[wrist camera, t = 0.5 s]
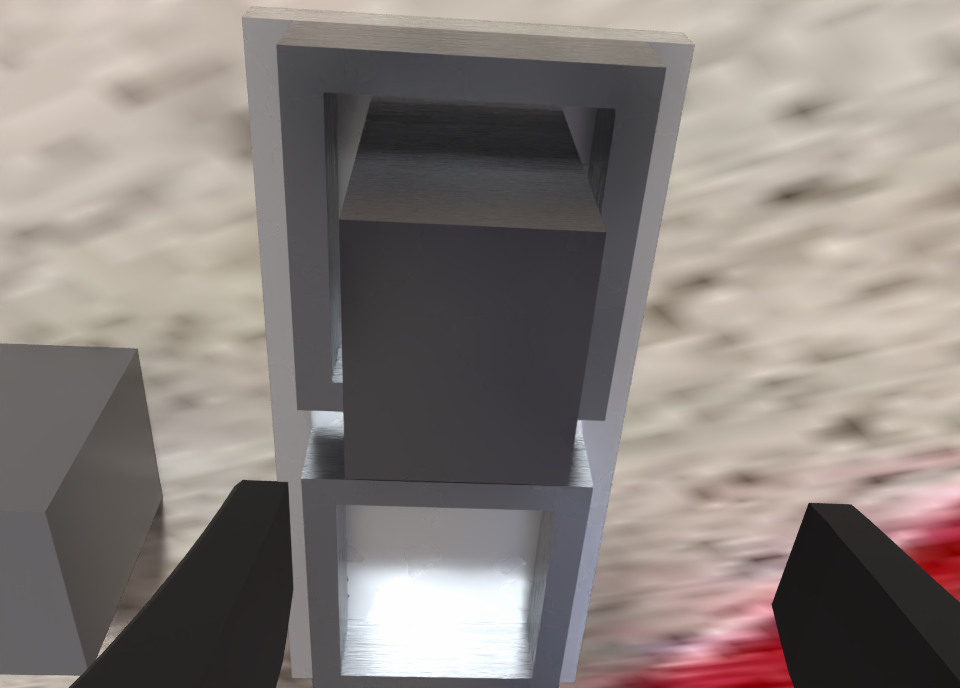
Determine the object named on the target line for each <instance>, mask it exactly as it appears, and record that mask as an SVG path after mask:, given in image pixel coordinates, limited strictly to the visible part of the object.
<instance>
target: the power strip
mask: <svg viewBox="0 0 960 688" xmlns="http://www.w3.org/2000/svg"><path fill="white" fill-rule="evenodd" d="M242 25H243V38H244V51H245V64H246V77H247V91H248V104H249V117H250V130H251V143H252V156H253V170H254V183H255V196H256V209H257V222H258V235H259V248H260V262H261V275H262V288H263V301H264V314H265V327H266V340H267V354H268V367H269V380H270V393H271V406H272V419H273V432H274V446H275V459H276V472H277V481H278V482H288V486H289V506H290V526H291V546H292V566H293V587H294V590H293V597H292V604H291V611H290V617H289V624H288V630H289V643H290V656H291V669H292V678H312V679H313V688H558V687H559V683H574V682H575V676H576V671H577V666H578V660H579V655H580V650H581V644H582V639H583V634H584V629H585V623H586V618H587V613H588V607H589V602H590V597H591V591H592V586H593V581H594V576H595V570H596V565H597V560H598V554H599V549H600V544H601V538H602V533H603V528H604V523H605V517H606V512H607V507H608V501H609V496H610V491H611V486H612V480H613V475H614V470H615V464H616V459H617V454H618V448H619V443H620V438H621V433H622V427H623V422H624V417H625V411H626V406H627V401H628V395H629V390H630V385H631V380H632V374H633V369H634V364H635V358H636V353H637V348H638V342H639V337H640V332H641V327H642V321H643V316H644V311H645V305H646V300H647V295H648V290H649V284H650V279H651V274H652V268H653V263H654V258H655V252H656V247H657V242H658V237H659V231H660V226H661V221H662V215H663V210H664V205H665V199H666V194H667V189H668V184H669V178H670V173H671V168H672V162H673V157H674V152H675V147H676V141H677V136H678V131H679V125H680V120H681V115H682V109H683V104H684V99H685V94H686V88H687V83H688V78H689V72H690V67H691V62H692V56H693V51H694V46H695V44H694V43H693V42H692V41H691V40H690V39H689V38H688V37H687V36H686V35H685V34H684V33H671V32H655V31H638V30H622V29H606V28H590V27H573V26H557V25H541V24H524V23H508V22H492V21H475V20H459V19H443V18H426V17H410V16H394V15H378V14H361V13H345V12H329V11H312V10H296V9H280V8H263V7H251V8H250V9H249V10H248V11H247V12H246V13H245V14H244V15H243V16H242Z"/></svg>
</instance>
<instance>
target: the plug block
mask: <svg viewBox="0 0 960 688" xmlns="http://www.w3.org/2000/svg"><path fill="white" fill-rule="evenodd" d="M162 497H163V496H162V490H161V484H160V479H159V473H158V467H157V461H156V455H155V449H154V443H153V437H152V432H151V426H150V420H149V414H148V408H147V402H146V396H145V390H144V384H143V379H142V373H141V367H140V361H139V355H138V349H132V348H106V347H79V346H53V345H27V344H0V674H11V675H74V676H81V675H82V674H83V673H84V672H85V671H86V670H87V669H88V668H89V667H90V666H91V665H92V663H93V662H94V661H95V660H96V658H97V656H98V653H99V651H100V648H101V646H102V644H103V641H104V639H105V636H106V634H107V631H108V629H109V627H110V624H111V622H112V619H113V617H114V614H115V612H116V609H117V607H118V605H119V602H120V600H121V597H122V595H123V592H124V590H125V588H126V585H127V583H128V580H129V578H130V575H131V573H132V570H133V568H134V566H135V563H136V561H137V558H138V556H139V553H140V551H141V548H142V546H143V544H144V541H145V539H146V536H147V534H148V531H149V529H150V527H151V524H152V522H153V519H154V517H155V514H156V512H157V509H158V507H159V505H160V502H161V500H162Z"/></svg>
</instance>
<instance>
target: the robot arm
mask: <svg viewBox="0 0 960 688" xmlns="http://www.w3.org/2000/svg"><path fill="white" fill-rule="evenodd" d="M293 590H294V587H293V566H292V546H291V526H290V506H289V486H288V482H278V481H253V480H242V481H241V482H240V483H238V484H237V485H236V486H234V488H233V490H232V491H231V493H230V494H229V496H228V497H227V499H226V500H225V502H224V503H223V505H222V506H221V508H220V509H219V511H218V512H217V513H216V515H215V516H214V518H213V519H212V521H211V522H210V523H209V525H208V526H207V528H206V529H205V530H204V532H203V533H202V534H201V536H200V537H199V538H198V540H197V541H196V542H195V544H194V545H193V546H192V548H191V549H190V550H189V552H188V553H187V554H186V556H185V557H184V558H183V559H182V561H181V562H180V563H179V564H178V566H177V567H176V568H175V569H174V571H173V572H172V573H171V574H170V576H169V577H168V578H167V579H166V581H165V582H164V583H163V584H162V586H161V587H160V588H159V589H158V591H157V592H156V593H155V594H154V596H153V597H152V598H151V599H150V600H149V601H148V603H147V604H146V605H145V606H144V607H143V608H142V610H141V611H140V612H139V613H138V614H137V615H136V616H135V617H134V619H133V620H132V621H131V622H130V623H129V624H128V625H127V626H126V627H125V629H124V630H123V631H122V632H121V633H120V634H119V635H118V636H117V637H116V639H115V640H114V641H113V642H112V643H111V644H110V645H109V646H108V648H107V649H106V650H105V651H104V652H103V653H102V654H101V655H100V656H99V657H98V658H97V659H96V660H95V661H94V662H93V663H92V665H91V666H90V667H89V668H88V669H87V670H86V671H85V672H84V673H83V674H82V675H81V676H80V677H79V678H78V679H77V680H76V681H75V682H74V683H73V684H72V685H71V686H70V687H69V688H276V685H277V681H278V677H279V674H280V670H281V666H282V662H283V656H284V650H285V644H286V637H287V631H288V624H289V617H290V611H291V604H292V597H293ZM772 608H773V612H774V616H775V620H776V625H777V629H778V633H779V637H780V642H781V645H782V649H783V653H784V657H785V660H786V664H787V668H788V671H789V675H790V677H791V680H792V683H793V685H794V688H960V602H958V601H957V600H956V599H955V598H954V597H953V596H952V595H951V594H950V593H948V592H947V591H946V590H945V589H944V588H943V587H942V586H941V585H940V584H939V583H937V582H936V581H935V580H934V579H933V578H932V577H931V576H930V575H929V574H928V573H927V572H925V571H924V570H923V569H922V568H921V567H920V566H919V565H918V564H917V563H916V562H915V561H914V560H912V559H911V558H910V557H909V556H908V555H907V554H906V553H905V552H904V551H903V550H902V549H901V548H899V547H898V546H897V545H896V544H895V543H894V542H893V541H892V540H891V539H890V538H889V537H888V536H886V535H885V534H884V533H883V532H882V531H881V530H880V529H879V528H878V527H877V526H875V525H874V524H873V523H872V522H871V521H870V520H869V519H868V518H866V517H865V516H864V515H863V514H862V513H861V512H860V511H858V510H857V509H856V508H855V507H854V506H852V505H850V504H825V503H809V504H808V507H807V509H806V512H805V515H804V518H803V520H802V523H801V526H800V529H799V531H798V534H797V537H796V540H795V542H794V545H793V548H792V551H791V553H790V556H789V559H788V561H787V564H786V567H785V570H784V572H783V575H782V578H781V581H780V583H779V586H778V589H777V592H776V594H775V597H774V600H773V603H772Z"/></svg>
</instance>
